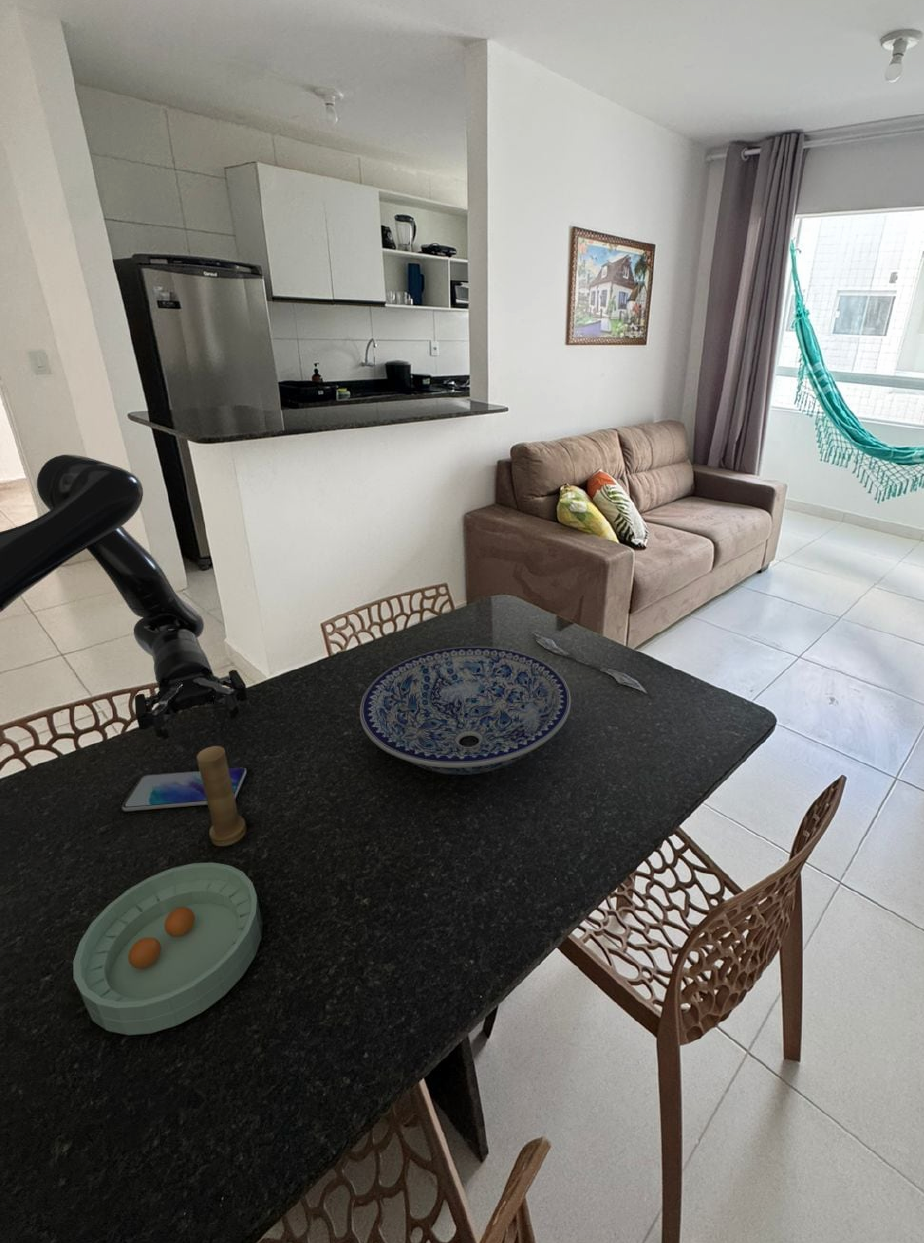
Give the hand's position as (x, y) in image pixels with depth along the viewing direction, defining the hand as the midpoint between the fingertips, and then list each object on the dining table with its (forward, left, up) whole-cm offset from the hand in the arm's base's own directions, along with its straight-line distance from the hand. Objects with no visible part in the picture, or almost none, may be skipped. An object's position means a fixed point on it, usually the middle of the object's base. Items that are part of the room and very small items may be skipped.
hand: (200, 723), depth 89 cm
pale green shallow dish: (+19, -20, -12) cm, 30 cm away
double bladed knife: (+36, +61, -12) cm, 71 cm away
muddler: (+9, -5, -12) cm, 16 cm away
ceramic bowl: (+28, +27, -13) cm, 41 cm away
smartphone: (-3, -2, -12) cm, 13 cm away
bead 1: (+16, -22, -10) cm, 29 cm away
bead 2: (+16, -18, -10) cm, 26 cm away
